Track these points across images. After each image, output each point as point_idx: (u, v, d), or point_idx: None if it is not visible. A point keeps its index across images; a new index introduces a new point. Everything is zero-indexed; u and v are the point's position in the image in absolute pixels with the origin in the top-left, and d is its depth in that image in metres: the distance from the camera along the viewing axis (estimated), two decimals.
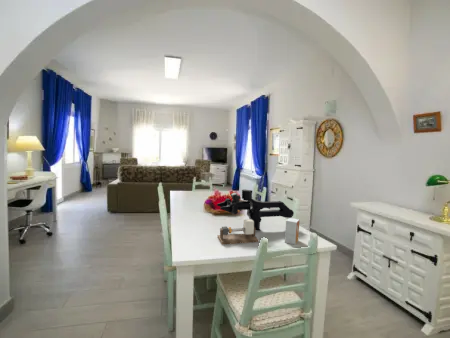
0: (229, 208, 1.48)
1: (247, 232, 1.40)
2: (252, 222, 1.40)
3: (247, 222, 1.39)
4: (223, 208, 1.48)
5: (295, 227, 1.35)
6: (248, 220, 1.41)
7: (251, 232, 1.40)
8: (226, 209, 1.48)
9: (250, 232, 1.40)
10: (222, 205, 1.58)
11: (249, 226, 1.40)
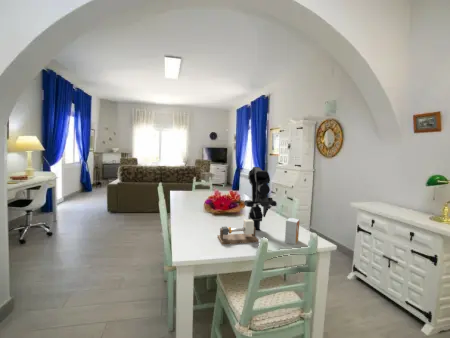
0: None
1: (247, 232, 1.40)
2: (252, 222, 1.40)
3: (247, 222, 1.39)
4: None
5: (295, 227, 1.35)
6: (248, 220, 1.41)
7: (251, 232, 1.40)
8: None
9: (250, 232, 1.40)
10: None
11: (249, 226, 1.40)
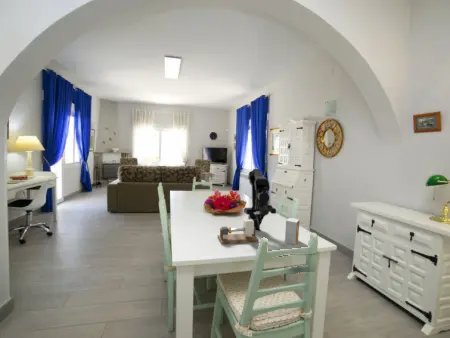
0: None
1: (247, 232, 1.40)
2: (252, 222, 1.40)
3: (247, 222, 1.39)
4: None
5: (295, 227, 1.35)
6: (248, 220, 1.41)
7: (251, 232, 1.40)
8: None
9: (250, 232, 1.40)
10: None
11: (249, 226, 1.40)
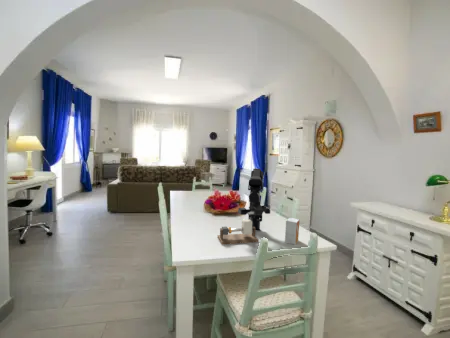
0: None
1: (245, 232, 1.39)
2: (250, 222, 1.40)
3: (245, 222, 1.39)
4: None
5: (295, 227, 1.35)
6: (246, 220, 1.41)
7: (249, 232, 1.40)
8: None
9: (248, 232, 1.40)
10: None
11: (247, 226, 1.39)
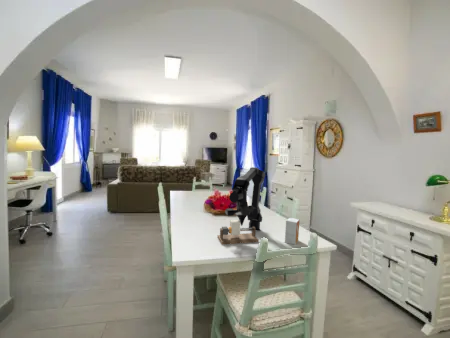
0: None
1: (233, 233, 1.37)
2: (238, 223, 1.38)
3: (233, 223, 1.37)
4: None
5: (295, 227, 1.35)
6: (234, 221, 1.39)
7: (237, 233, 1.38)
8: None
9: (236, 233, 1.38)
10: None
11: (235, 227, 1.37)
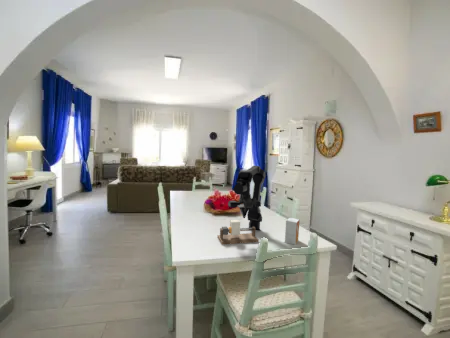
0: None
1: (233, 233, 1.37)
2: (238, 223, 1.38)
3: (233, 223, 1.37)
4: None
5: (295, 227, 1.35)
6: (234, 221, 1.39)
7: (237, 233, 1.38)
8: None
9: (236, 233, 1.38)
10: None
11: (235, 227, 1.37)
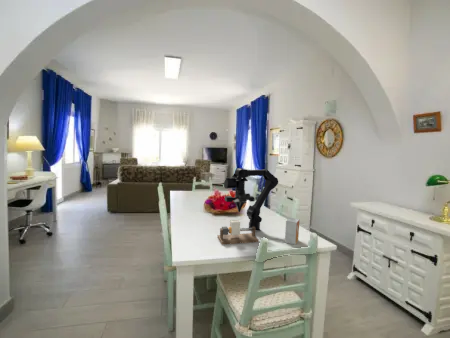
0: None
1: (233, 233, 1.37)
2: (238, 223, 1.38)
3: (233, 223, 1.37)
4: None
5: (295, 227, 1.35)
6: (234, 221, 1.39)
7: (237, 233, 1.38)
8: None
9: (236, 233, 1.38)
10: None
11: (235, 227, 1.37)
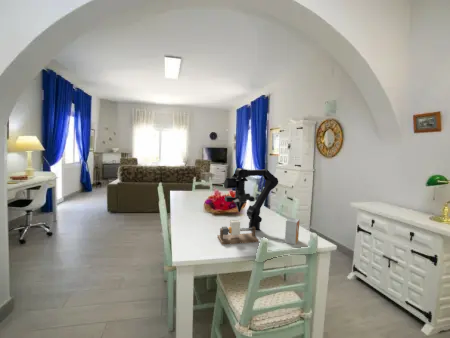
0: None
1: (233, 233, 1.37)
2: (238, 223, 1.38)
3: (233, 223, 1.37)
4: None
5: (295, 227, 1.35)
6: (234, 221, 1.39)
7: (237, 233, 1.38)
8: None
9: (236, 233, 1.38)
10: None
11: (235, 227, 1.37)
